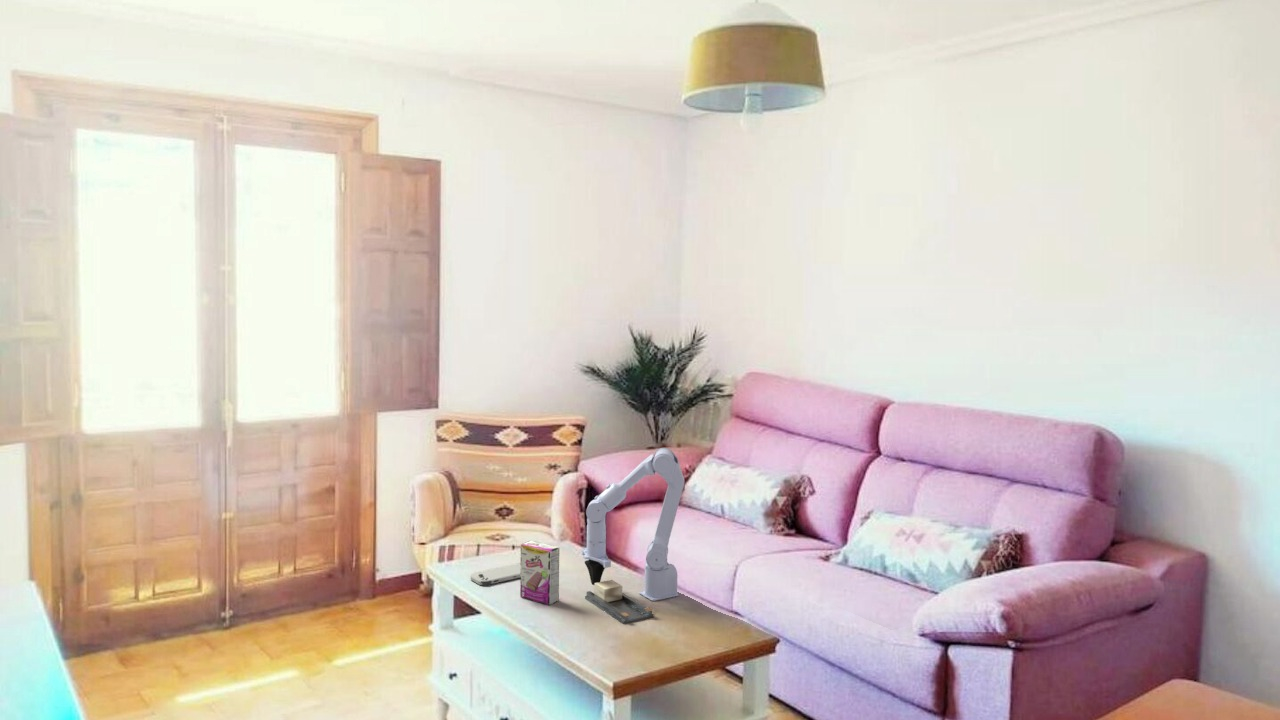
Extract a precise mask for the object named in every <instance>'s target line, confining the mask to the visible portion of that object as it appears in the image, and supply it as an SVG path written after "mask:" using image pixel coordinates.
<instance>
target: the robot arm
mask: <svg viewBox="0 0 1280 720" xmlns="http://www.w3.org/2000/svg"><path fill="white" fill-rule="evenodd" d="M656 473H657V475H659V476H660V477H661V478H663V479H664V481H665V482H666V484H667V489H666V492H665V496H664V499H663V503H662V507H661V510H660V514H659V518H658V521H657V522H658V523H657V526H656V529H655V533H654V535H653V539H652V541H650V543H649V544H648V546H647V553H646V556H645V564H644V590H640V591H638V594H640V595H641V596H643V597H645V598H646V599H648V600H650V601H652V602H655V601H659V600H666V599H670V598H675V597H678V596H679V593H678V570H677V568H676V566H675V565H674V564H673V563H669V562H668V554H669V542H670V538H671V534H672V531H673V527H674V524H675V521H676V516H677V513H678V509H679V505H680V500H681V498H682V493H683V489H684V487H685V477H684V475H683V471H682V468H681V466H680V461H679V458H678V457H677V456H676V454H675V453H674V452H673V451H672V450H671V449H670V448H667V447H661V448H658V449H657V450H656V451H655V452H654V453H651V454H650V455H649V456H648V457H646V458H645V459H643V460H642V461H641V462H640V463H639V464H638V465H637V466H636V467H635V468H634V469H632V471H630V473H628V474H627V475H626V476H625V478H623V479H622V480H621V481H620V482H612V484H610V483H609V484H607V485H606V487H605V488H606V489H604V491H602V492H601V493H600V494H598V495H596V496H595V497H594V499H592V500H590V502H589V503H588V505H587V508H586V510H585V514H586V523H587V525H586V547H583V548H581V555H582V558H583V559H584V564H585V566H586V568H587V571H588V574H589V578H590V583H591V585H592V586H594V583H598V582H602V581H601V580H602V576H603V573H604V571H605V569H607V568H611V566H612V561H611V559H609V557H608V555H607V551H606V549H607V548H606V546H607V545H606V541H607V538H606V535H607V530H606V529H607V526H606V516H607V513H608V512H611V511H612V510H614V508H615V507H617V506H618V505H619V504H620V503H621V502H623V501H624V500H625V499H626V498H627V491H629V490H630V489H631V488H632V487H634V486H635V485H636V484H637V483H639V481H641V480H642V479H644V478H645V477H646V476H655V475H656Z"/></svg>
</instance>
